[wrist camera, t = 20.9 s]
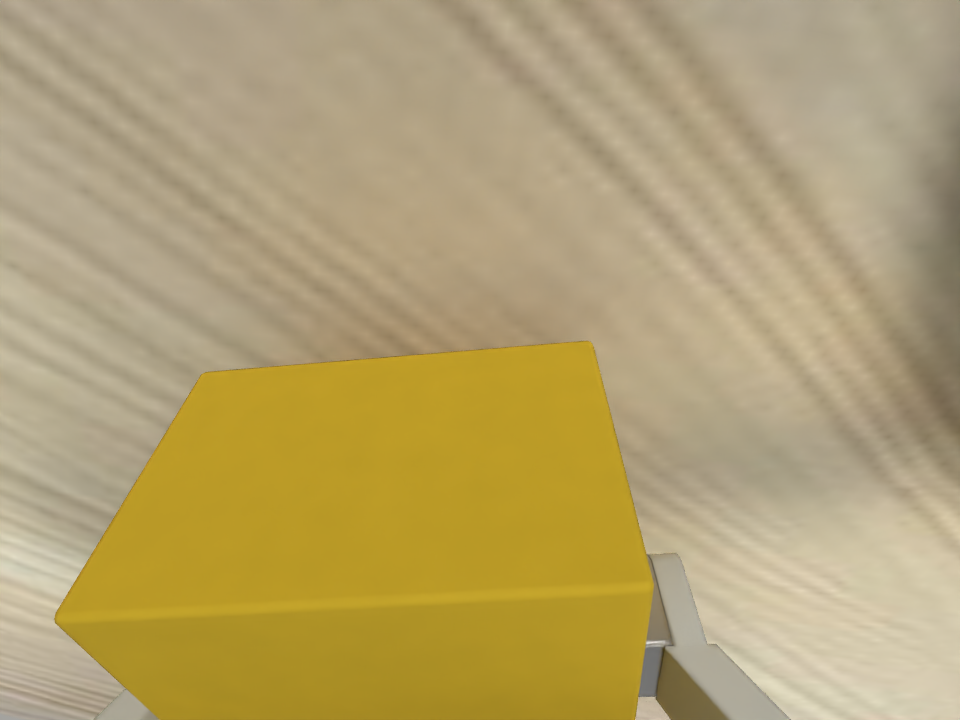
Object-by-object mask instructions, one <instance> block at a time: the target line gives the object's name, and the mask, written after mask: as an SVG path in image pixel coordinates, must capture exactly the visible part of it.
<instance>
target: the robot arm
mask: <svg viewBox="0 0 960 720" xmlns="http://www.w3.org/2000/svg"><path fill="white" fill-rule="evenodd" d="M647 558H648V562H649V566H650V570H651V574H652V578H653V582H654V590H653V597H652V604H651V611H650V618H649V625H648V632H647V639H646V646H645V653H644V660H643V667H642V675H641V682H640V689H639V696H638V697H655V696H656V700H657V701H658V703H659V704H660V705H661V707H662V708H663V709H664V711H665V712H666V713H667V715H668V716H669V717H670V719H671V720H791V719H790V718H789V717H788V716H787V715H786V714H785V713H784V712H783V711H782V710H781V709H780V708H779V707H778V706H777V705H776V704H775V703H774V702H773V701H772V700H771V699H770V698H769V697H768V696H767V695H766V694H765V693H764V692H763V691H762V690H761V689H760V688H759V687H758V686H757V685H756V684H755V683H754V682H753V681H752V680H751V679H750V678H749V677H748V676H747V675H746V674H745V673H744V672H743V671H742V670H741V669H740V668H739V667H738V666H737V665H736V664H735V663H734V662H733V661H732V660H731V659H730V658H729V657H728V656H727V655H726V654H725V653H724V652H723V650H722V649H721V648H720V647H719V646H718V645H717V644H707V641H706V638H705V634H704V631H703V628H702V625H701V622H700V618H699V615H698V612H697V609H696V605H695V602H694V599H693V596H692V593H691V589H690V586H689V583H688V580H687V576H686V573H685V570H684V567H683V564H682V560H681V559H680V557H679V556H678V554H676V553H664V554H649V555H648V554H647ZM93 720H159V719H158V718H157V717H156V716H155V715H154V714H153V713H152V712H151V711H150V710H149V709H147V708H146V707H145V706H144V705H143V704H142V703H141V702H140V701H139V700H138V699H137V698H136V697H135V696H133V695H132V694H131V693H130V692H129V691H128V690H127V689H125V690H124V691H122V692H121V693H120V694H119V695H118V696H117V697H116V698H115V699H114V700H113V701H112V702H111V703H110V704H109V705H108V706H107V707H106V708H105V709H104V710H103V711H102V712H101V713H100V714H99V715H98V716H97V717H95V718H94V719H93Z"/></svg>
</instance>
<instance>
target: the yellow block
mask: <svg viewBox="0 0 960 720" xmlns="http://www.w3.org/2000/svg"><path fill="white" fill-rule="evenodd" d="M653 590H654V582H653V578H652V574H651V570H650V566H649V562H648V558H647V554H646V551H645V547H644V543H643V539H642V535H641V531H640V527H639V523H638V519H637V515H636V511H635V507H634V503H633V499H632V496H631V492H630V488H629V484H628V480H627V476H626V472H625V468H624V464H623V460H622V456H621V452H620V448H619V444H618V440H617V437H616V433H615V429H614V425H613V421H612V417H611V413H610V409H609V405H608V401H607V397H606V393H605V389H604V385H603V382H602V378H601V374H600V370H599V366H598V362H597V358H596V354H595V350H594V347H593V345H592V343H591V342H589V341H578V342H566V343H554V344H541V345H529V346H517V347H505V348H493V349H480V350H468V351H456V352H444V353H432V354H420V355H407V356H395V357H383V358H371V359H359V360H347V361H334V362H322V363H310V364H298V365H286V366H273V367H261V368H249V369H237V370H225V371H213V372H205V373H203V374H202V375H200V377H199V379H198V380H197V382H196V384H195V385H194V387H193V389H192V390H191V392H190V394H189V395H188V397H187V398H186V400H185V402H184V403H183V405H182V407H181V408H180V410H179V412H178V413H177V415H176V417H175V418H174V420H173V421H172V423H171V425H170V426H169V428H168V430H167V431H166V433H165V435H164V436H163V438H162V439H161V441H160V443H159V444H158V446H157V448H156V449H155V451H154V453H153V454H152V456H151V458H150V459H149V461H148V462H147V464H146V466H145V467H144V469H143V471H142V472H141V474H140V476H139V477H138V479H137V480H136V482H135V484H134V485H133V487H132V489H131V490H130V492H129V494H128V495H127V497H126V499H125V500H124V502H123V503H122V505H121V507H120V508H119V510H118V512H117V513H116V515H115V517H114V518H113V520H112V522H111V523H110V525H109V526H108V528H107V530H106V531H105V533H104V535H103V536H102V538H101V540H100V541H99V543H98V544H97V546H96V548H95V549H94V551H93V553H92V554H91V556H90V558H89V559H88V561H87V563H86V564H85V566H84V567H83V569H82V571H81V572H80V574H79V576H78V577H77V579H76V581H75V582H74V584H73V586H72V587H71V589H70V590H69V592H68V594H67V595H66V597H65V599H64V600H63V602H62V604H61V605H60V607H59V608H58V610H57V612H56V614H55V618H54V620H55V623H56V624H57V625H58V626H59V627H60V628H61V629H62V630H63V631H64V632H66V633H67V634H68V635H69V636H70V637H71V638H72V639H73V640H74V641H75V642H76V643H77V644H78V645H80V646H81V647H82V648H83V649H84V650H85V651H86V652H87V653H88V654H89V655H90V656H91V657H92V658H94V659H95V660H96V661H97V662H98V663H99V664H100V665H101V666H102V667H103V668H104V669H105V670H106V671H108V672H109V673H110V674H111V675H112V676H113V677H114V678H115V679H116V680H117V681H118V682H119V683H121V684H122V685H123V686H124V687H125V688H126V689H127V690H128V691H129V692H130V693H131V694H132V695H133V696H135V697H136V698H137V699H138V700H139V701H140V702H141V703H142V704H143V705H144V706H145V707H146V708H147V709H149V710H150V711H151V712H152V713H153V714H154V715H155V716H156V717H157V718H158V719H159V720H635V717H636V710H637V703H638V696H639V689H640V682H641V675H642V667H643V660H644V653H645V646H646V639H647V632H648V625H649V618H650V611H651V604H652V597H653Z"/></svg>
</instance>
